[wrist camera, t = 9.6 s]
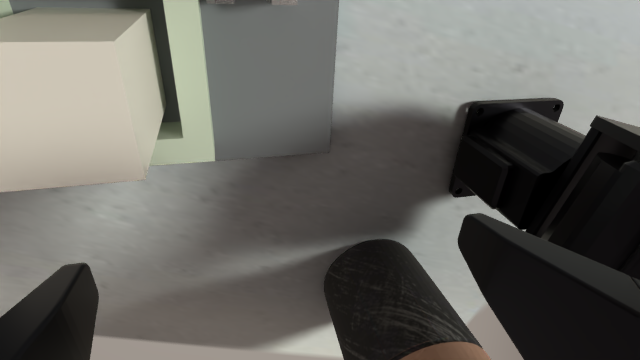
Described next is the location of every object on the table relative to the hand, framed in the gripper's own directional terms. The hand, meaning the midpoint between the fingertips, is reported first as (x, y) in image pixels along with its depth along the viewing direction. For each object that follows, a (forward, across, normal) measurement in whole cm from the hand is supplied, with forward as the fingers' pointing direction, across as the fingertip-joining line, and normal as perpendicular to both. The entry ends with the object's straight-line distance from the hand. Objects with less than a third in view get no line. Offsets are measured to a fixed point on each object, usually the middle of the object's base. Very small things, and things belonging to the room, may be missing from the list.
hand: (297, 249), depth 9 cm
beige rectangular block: (+11, +6, -2) cm, 13 cm away
